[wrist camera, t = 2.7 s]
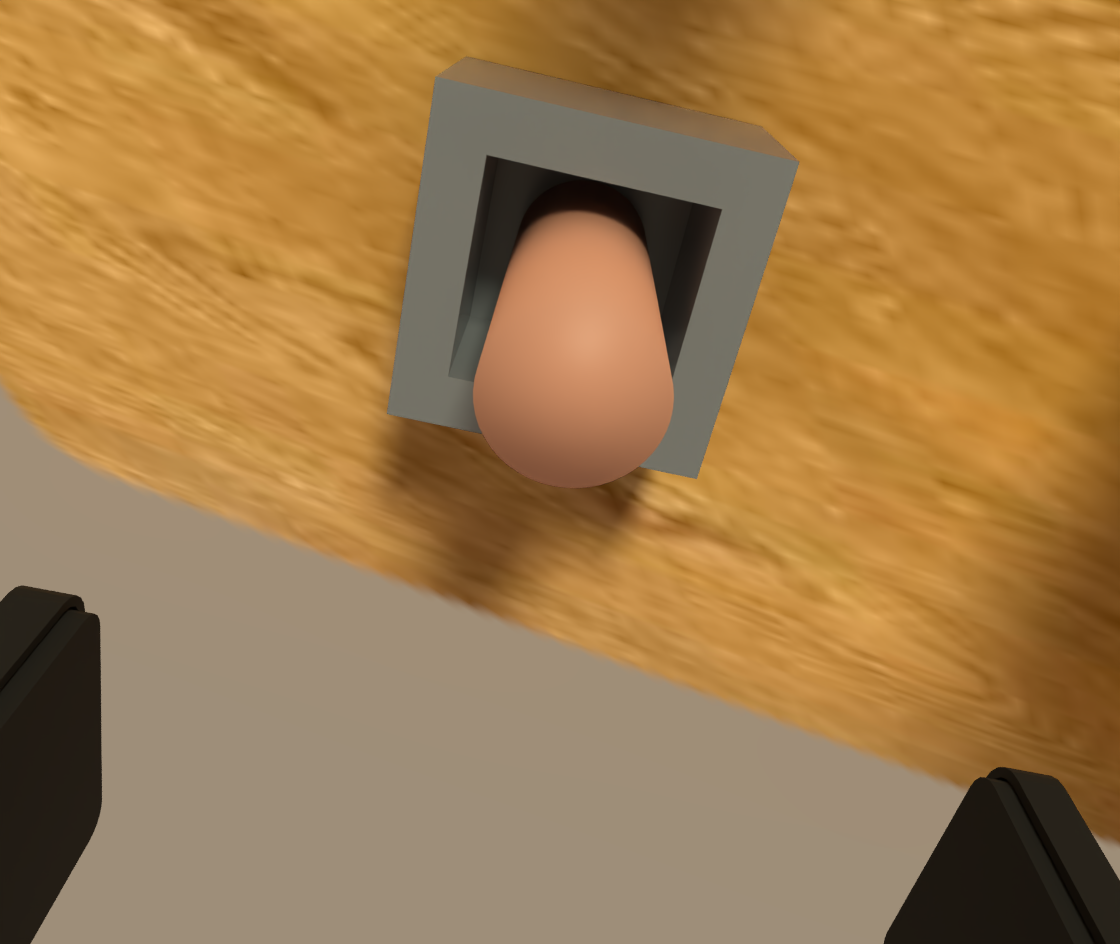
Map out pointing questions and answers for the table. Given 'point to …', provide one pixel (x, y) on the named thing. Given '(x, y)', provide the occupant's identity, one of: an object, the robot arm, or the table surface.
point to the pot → (602, 156)
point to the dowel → (576, 344)
